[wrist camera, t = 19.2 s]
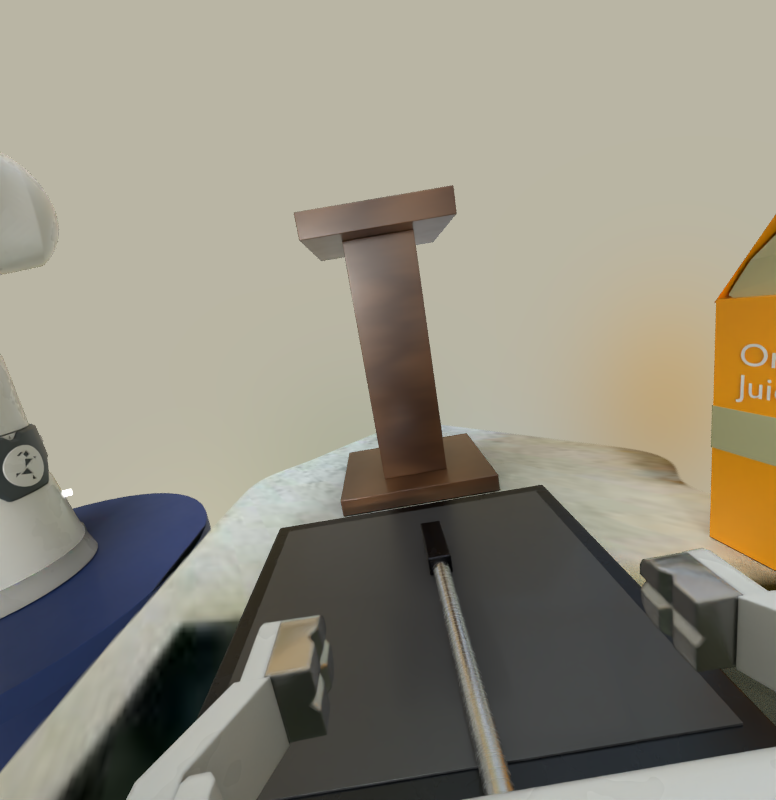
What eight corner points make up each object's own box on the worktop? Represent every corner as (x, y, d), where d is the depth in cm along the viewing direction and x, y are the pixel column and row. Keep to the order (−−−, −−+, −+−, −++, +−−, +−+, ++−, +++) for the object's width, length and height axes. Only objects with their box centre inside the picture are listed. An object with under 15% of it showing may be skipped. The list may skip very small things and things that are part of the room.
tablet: (142, 881, 13) (132, 858, 13) (282, 538, 32) (279, 526, 32) (800, 775, 13) (802, 749, 12) (543, 495, 32) (542, 483, 32)
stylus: (487, 842, 12) (482, 813, 11) (422, 538, 27) (419, 523, 27) (533, 834, 12) (529, 805, 11) (442, 535, 27) (439, 519, 27)
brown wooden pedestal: (343, 516, 34) (280, 214, 29) (351, 464, 46) (307, 242, 40) (500, 490, 34) (466, 182, 29) (468, 444, 46) (440, 220, 40)
